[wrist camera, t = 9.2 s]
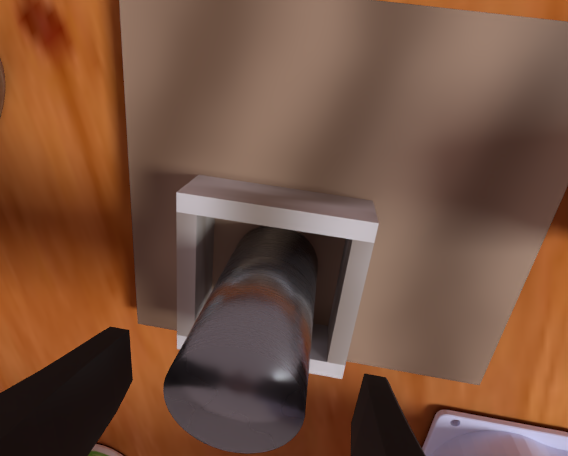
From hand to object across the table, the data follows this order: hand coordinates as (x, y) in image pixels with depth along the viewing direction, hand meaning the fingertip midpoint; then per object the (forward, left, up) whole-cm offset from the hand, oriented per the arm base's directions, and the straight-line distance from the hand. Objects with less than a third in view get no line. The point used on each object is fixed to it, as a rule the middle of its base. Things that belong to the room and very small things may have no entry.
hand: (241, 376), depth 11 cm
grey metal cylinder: (0, 0, -7) cm, 7 cm away
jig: (-2, -3, -8) cm, 9 cm away
